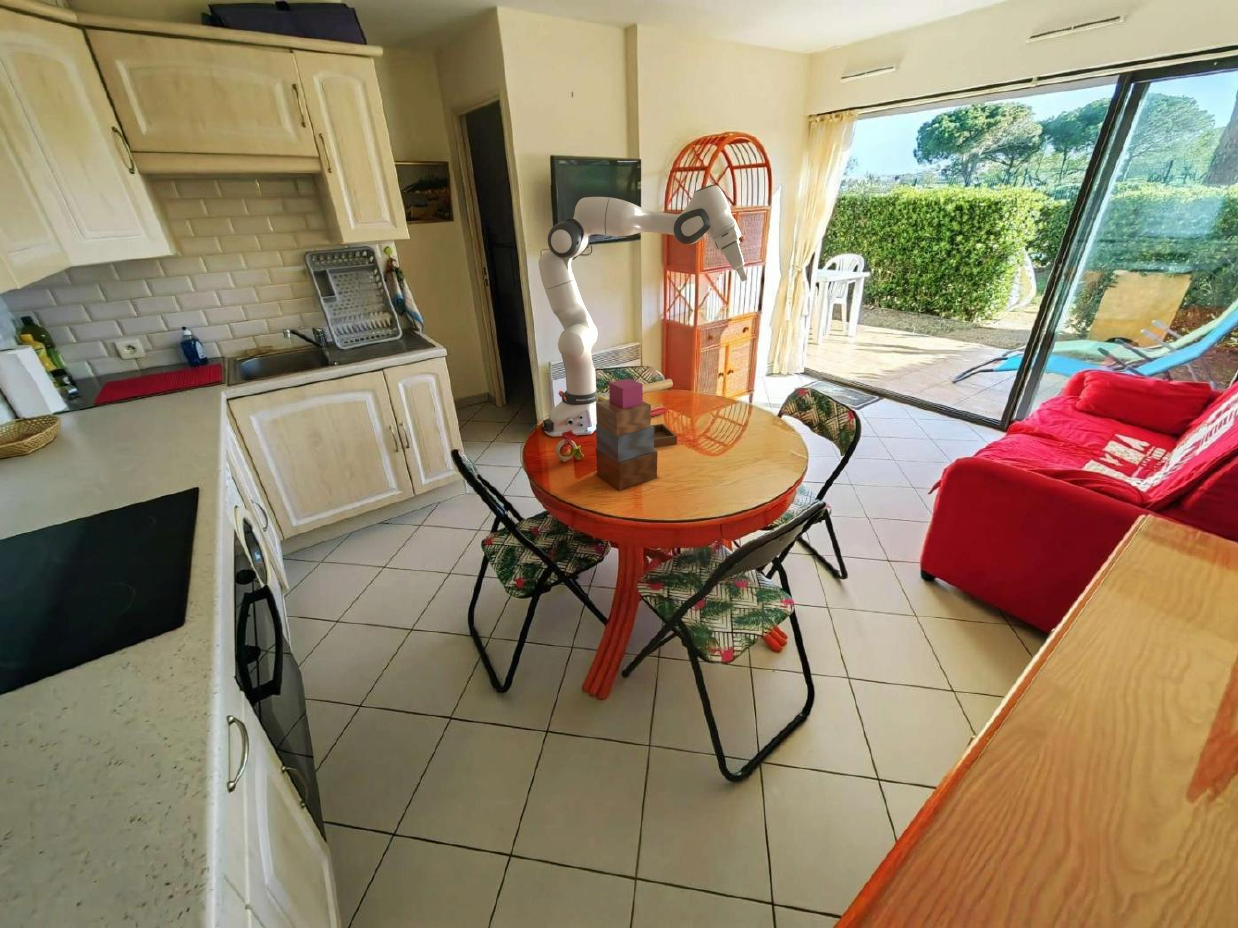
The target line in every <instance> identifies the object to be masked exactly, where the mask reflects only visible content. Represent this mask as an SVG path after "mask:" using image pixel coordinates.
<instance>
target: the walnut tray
mask: <svg viewBox="0 0 1238 928" xmlns="http://www.w3.org/2000/svg"><path fill="white" fill-rule="evenodd" d="M651 426H653V427H654V448H658V447H664V446H665V447H666V446H672V445H677V443H678V435H677V434H676V433H674V432H673V431H672V430H671V429H670V428H669V427H668V426H667V425H666V424H665V423H658V424H651Z"/></svg>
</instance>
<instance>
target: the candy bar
mask: <svg viewBox="0 0 1238 928" xmlns="http://www.w3.org/2000/svg"><path fill="white" fill-rule="evenodd" d="M668 409H669V408H668V407H666V406H657V407H653V408H651V417H654V416H657V415H661V414H664V413H666V412H667V411H668Z"/></svg>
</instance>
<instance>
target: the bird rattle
mask: <svg viewBox="0 0 1238 928" xmlns="http://www.w3.org/2000/svg"><path fill="white" fill-rule="evenodd" d="M562 435H563V436H562V438H563V439H561V440H560V441H558V443H557V444H556V446H555V455H556V456H557V458H558V459H560V460H561V462H562V463H566V462H567V461H569V460H571V459H573V458H574V457H575V459H576V460H577V461H580V460H581V459H583V458H584V457H585V455H584V454H583V453H582V450H581V447H582V446H581V445H578V446H577V444H576V442H575V441H573V440H574V439H576V438H577V436H578V435H577V434H574V433H573V431H572V430H569V431H568V432H563V433H562Z"/></svg>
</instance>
